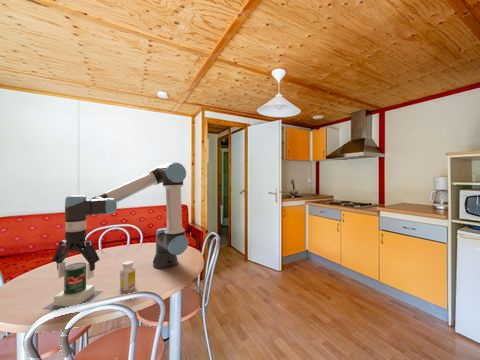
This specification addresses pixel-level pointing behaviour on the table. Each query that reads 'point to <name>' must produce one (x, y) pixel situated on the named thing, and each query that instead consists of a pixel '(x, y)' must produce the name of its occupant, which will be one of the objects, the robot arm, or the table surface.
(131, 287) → the supplement bottle
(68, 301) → the cream base block
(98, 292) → the grey flat square
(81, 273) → the canned tomato
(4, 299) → the table surface
